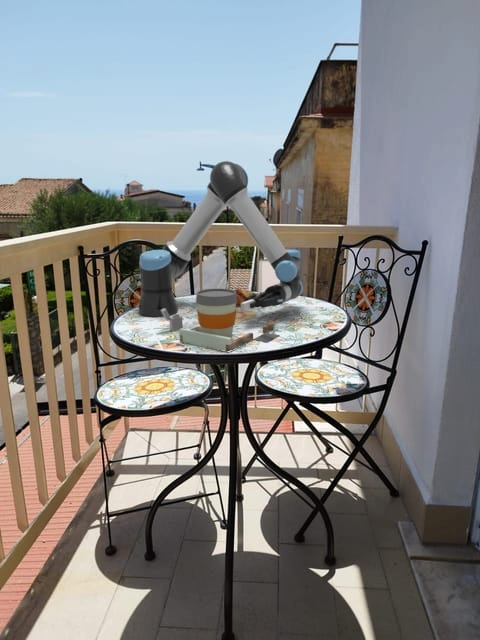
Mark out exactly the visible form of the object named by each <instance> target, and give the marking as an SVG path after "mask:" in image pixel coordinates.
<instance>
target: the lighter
mask: <svg viewBox="0 0 480 640" xmlns="http://www.w3.org/2000/svg"><path fill="white" fill-rule="evenodd" d="M161 312H162V314H163V316H162V317H164V319H165V321H167V322H169V331H171V332H175V331H179V329H181V328H183V326H184V325H183V316H181V315H180V314H179V313H175V314H172V315H169V314H168V312H167V310H166V309H165V308H163V309H162V310H161ZM171 316H172V317H171ZM183 329H184V328H183Z"/></svg>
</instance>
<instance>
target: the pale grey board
mask: <svg viewBox="0 0 480 640" xmlns="http://www.w3.org/2000/svg"><path fill="white" fill-rule="evenodd" d="M178 331H179V336H180V335H183V342H182V343H184V344H188V345H194V346H198V347H202V346H203V347H204V348H207V347H209V348H208V349H211V348H213V350H216V349H219V350H218V351H220V350H225V351H226V345H231V344H232V341H233V339H232V338H233V337H232V338H229V337H224V336H219V335H214V334H209V333H204V332H198V331H193V330H190V329H188V328H181V329H179V330H178ZM225 351H224V352H225Z"/></svg>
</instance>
